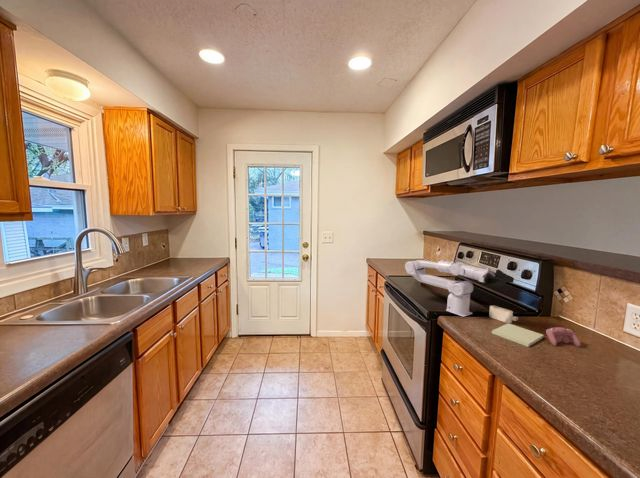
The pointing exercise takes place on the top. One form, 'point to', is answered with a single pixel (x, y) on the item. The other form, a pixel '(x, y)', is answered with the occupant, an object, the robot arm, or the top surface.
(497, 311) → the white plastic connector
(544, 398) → the top surface
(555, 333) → the pink toy car
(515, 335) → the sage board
